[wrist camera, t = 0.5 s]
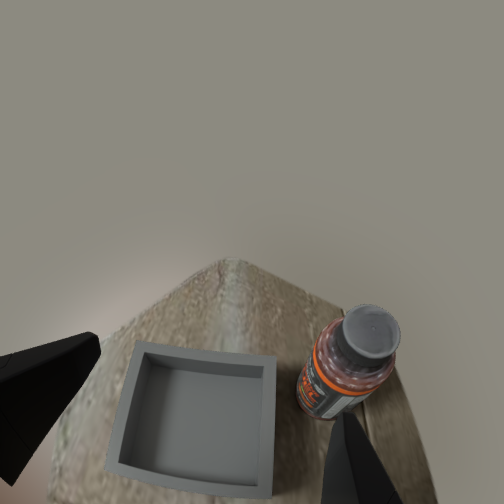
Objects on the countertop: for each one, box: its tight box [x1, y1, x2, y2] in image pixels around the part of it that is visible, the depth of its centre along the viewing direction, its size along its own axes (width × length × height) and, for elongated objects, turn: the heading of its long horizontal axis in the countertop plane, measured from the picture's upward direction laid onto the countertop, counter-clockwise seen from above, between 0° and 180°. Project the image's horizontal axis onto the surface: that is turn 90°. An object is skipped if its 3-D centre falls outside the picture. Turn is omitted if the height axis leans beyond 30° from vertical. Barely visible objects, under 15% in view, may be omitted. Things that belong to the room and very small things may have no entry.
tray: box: [104, 340, 276, 499], centre depth 19 cm, size 12×12×4 cm
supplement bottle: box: [296, 304, 401, 420], centre depth 20 cm, size 6×6×11 cm
